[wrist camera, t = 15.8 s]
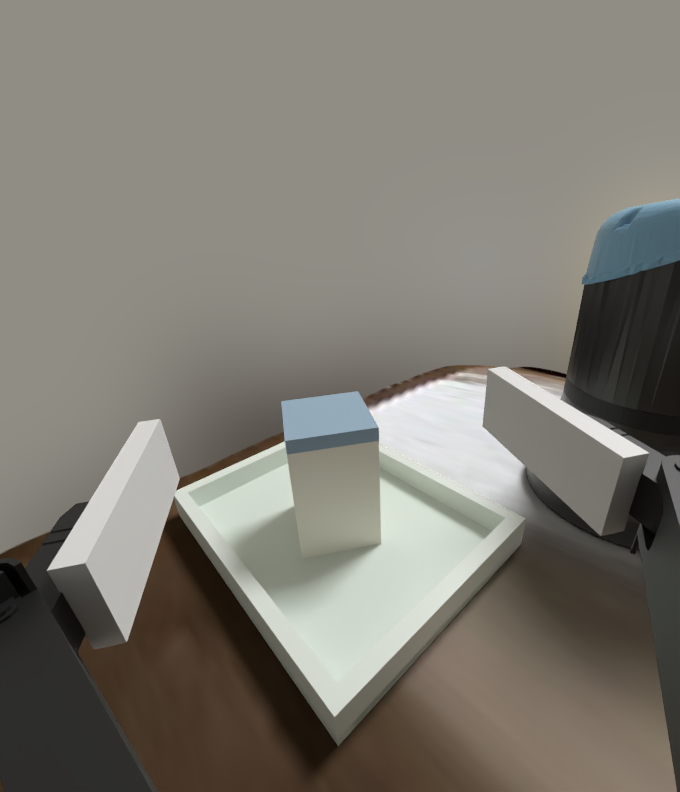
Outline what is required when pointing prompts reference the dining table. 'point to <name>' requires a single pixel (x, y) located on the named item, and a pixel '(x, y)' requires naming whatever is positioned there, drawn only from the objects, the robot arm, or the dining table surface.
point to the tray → (349, 574)
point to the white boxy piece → (333, 472)
